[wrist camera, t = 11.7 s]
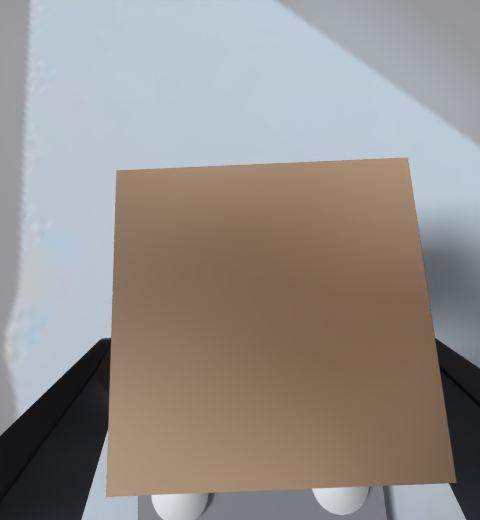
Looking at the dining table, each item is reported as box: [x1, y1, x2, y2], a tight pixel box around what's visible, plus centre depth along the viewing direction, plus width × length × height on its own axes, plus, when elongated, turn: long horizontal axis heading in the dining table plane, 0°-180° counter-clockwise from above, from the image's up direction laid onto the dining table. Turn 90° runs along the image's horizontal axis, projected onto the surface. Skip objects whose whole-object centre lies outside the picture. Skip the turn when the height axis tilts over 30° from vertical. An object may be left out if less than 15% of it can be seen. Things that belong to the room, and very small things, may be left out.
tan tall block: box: [106, 158, 457, 497], centre depth 12 cm, size 6×5×14 cm
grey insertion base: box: [138, 486, 387, 520], centre depth 17 cm, size 20×14×3 cm
